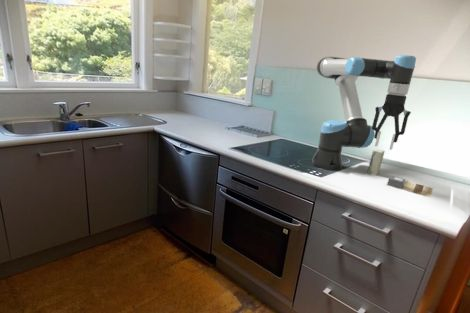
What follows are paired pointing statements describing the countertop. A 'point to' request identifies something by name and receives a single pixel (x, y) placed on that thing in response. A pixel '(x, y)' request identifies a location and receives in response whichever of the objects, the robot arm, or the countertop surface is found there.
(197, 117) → the countertop surface
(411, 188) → the board
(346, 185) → the countertop surface
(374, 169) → the box
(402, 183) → the gray block
